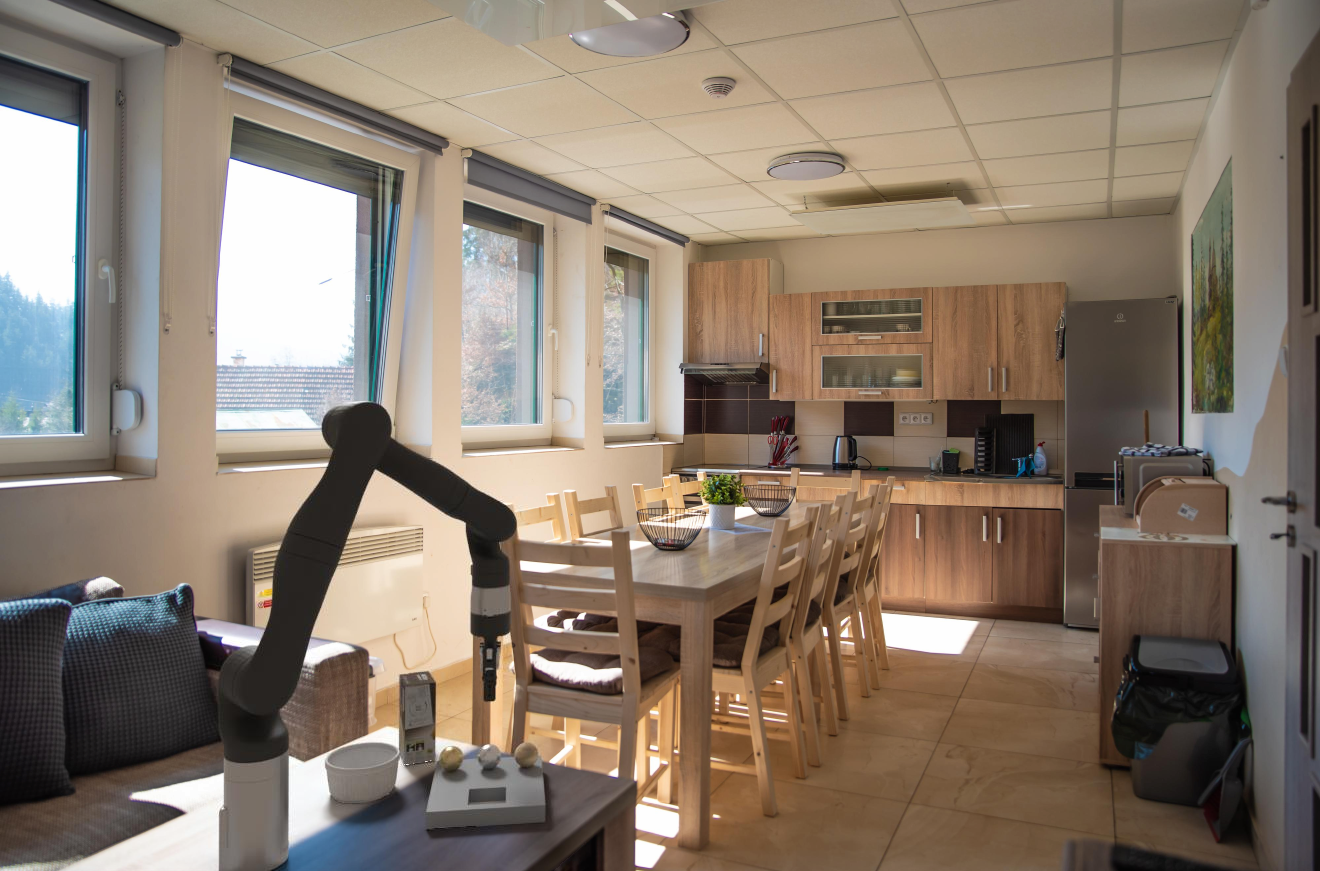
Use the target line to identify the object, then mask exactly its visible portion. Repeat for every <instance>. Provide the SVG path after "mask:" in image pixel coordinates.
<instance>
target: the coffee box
mask: <svg viewBox="0 0 1320 871" xmlns="http://www.w3.org/2000/svg"><path fill="white" fill-rule="evenodd" d="M398 677H399V678H398V749H399V751H400V759H401V760H402V762H403V765H404V764H405V765H404V766H407V765H406V764H411V765H414V764H413V763H418V764H421V763H420V762H424V763H426V762H425V761H430V760H435V761H436V730H437V729H436V727H437V726H436V725H437V722H436V720H437V718H436V717H437V681H436V680H435V679H434V677H433V675H432V674H431V672H429V671H428V670H424V671H416V672H415V671H414V672H408V673H401V674H398Z"/></svg>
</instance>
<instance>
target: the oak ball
mask: <svg viewBox="0 0 1320 871" xmlns="http://www.w3.org/2000/svg"><path fill="white" fill-rule="evenodd" d="M538 756H539V749H538V748H537V746H536V745H535V744H534V743H532V742H530V741H529V742H527V741H525V742H523V743H520V744H519V745H518V746H517V747H516V749H515V752H514V757H515V760H516V762H517V764H518V765H520V766H521V767H530V766H532V765H533V764H535V762H536V761H537V759H538Z"/></svg>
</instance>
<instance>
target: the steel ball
mask: <svg viewBox="0 0 1320 871" xmlns="http://www.w3.org/2000/svg"><path fill="white" fill-rule="evenodd" d="M501 758H502V752H501V749H499V747H498V746H497V745H496V744H492V743H487V744H485V745H483V746H481V747H480V748H479V750H478V751H477V754H476V759H477V761H478V763H479V765H480V766H481V767H482V768H484V769H493V768H495V767H496V766H497V765H498V764H499V762H500V760H501Z"/></svg>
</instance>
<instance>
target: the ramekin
mask: <svg viewBox="0 0 1320 871" xmlns="http://www.w3.org/2000/svg"><path fill="white" fill-rule="evenodd" d="M400 759H401V755H400V751H399V747H398V746H396V745H395V744H391V743H387V742H381V741H369V742H367V741H366V742H358V743H353V744H349V745H345V746H341V747H339V748H337V749H334V750H333V751H331V752H330V753H328V754H327V755H326V757H325V758H324V768H325V770H326V776H327V783H328V789H329V793H330V795H331V797H332V798H333V799H334V800H335V801H337V802H339V801H340V803H342V802H344V803H343V804H348V803H360V804H365V803H364V802H367V803H370V802H369V801H371V802H375V801H378V800H380V799H382V797H383V798H385V797H386V796H388V795H389V794H390V793H391V792H392V790H393V789H394V788H395V786H396V783H397V777H398V771H399V770H398V769H399V762H400ZM389 792H390V793H389ZM388 793H389V794H388ZM387 794H388V795H387ZM385 795H386V796H385ZM384 796H385V797H384ZM377 799H378V800H377ZM374 800H375V801H374Z"/></svg>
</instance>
